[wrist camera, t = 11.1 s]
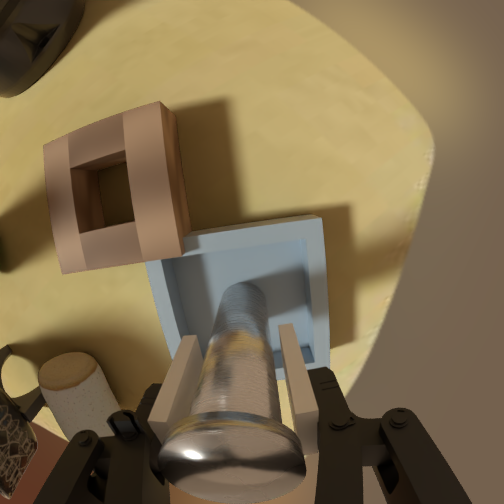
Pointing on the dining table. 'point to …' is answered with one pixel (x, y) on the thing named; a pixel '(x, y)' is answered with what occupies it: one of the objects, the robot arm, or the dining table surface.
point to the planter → (16, 432)
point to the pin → (235, 414)
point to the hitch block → (141, 187)
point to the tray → (250, 271)
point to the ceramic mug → (77, 394)
